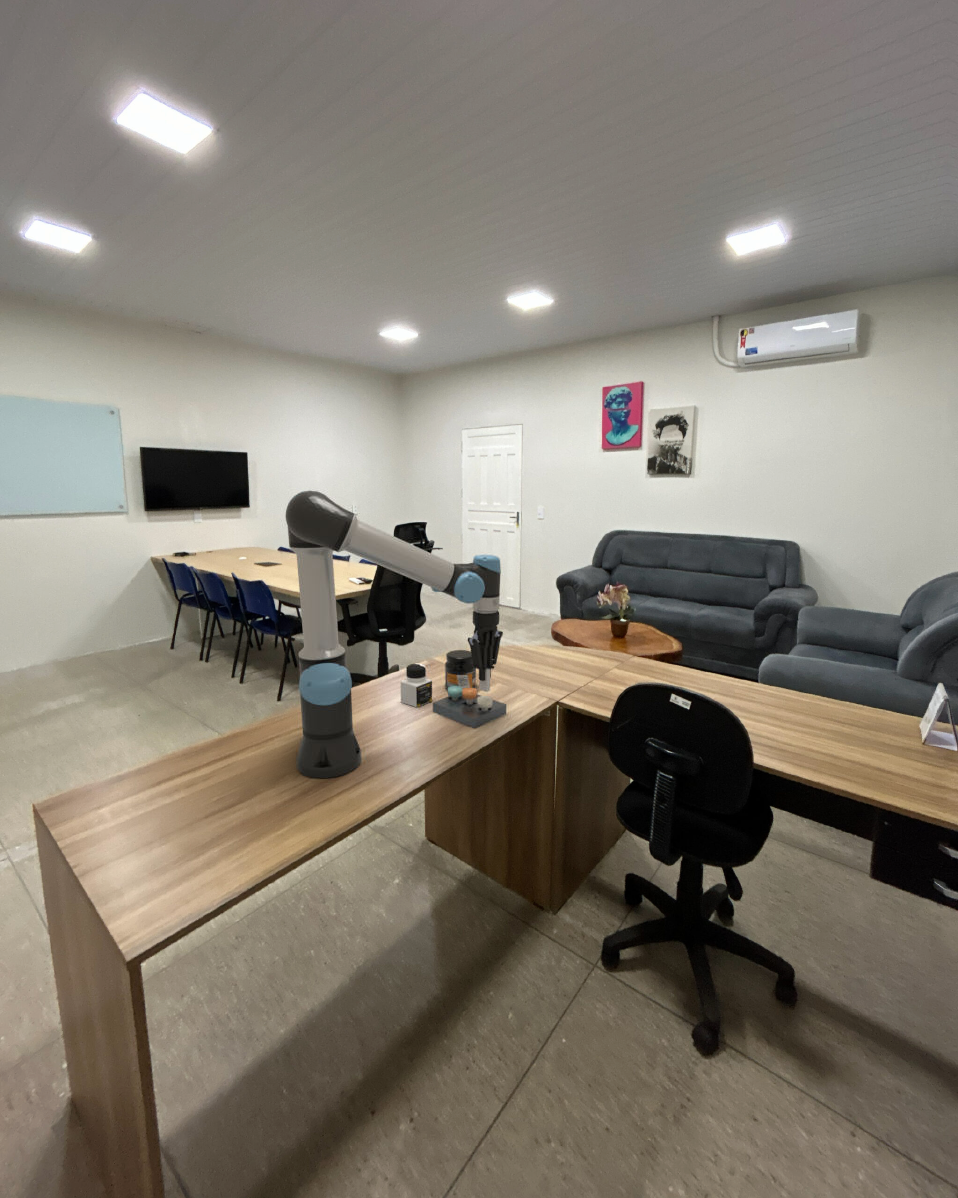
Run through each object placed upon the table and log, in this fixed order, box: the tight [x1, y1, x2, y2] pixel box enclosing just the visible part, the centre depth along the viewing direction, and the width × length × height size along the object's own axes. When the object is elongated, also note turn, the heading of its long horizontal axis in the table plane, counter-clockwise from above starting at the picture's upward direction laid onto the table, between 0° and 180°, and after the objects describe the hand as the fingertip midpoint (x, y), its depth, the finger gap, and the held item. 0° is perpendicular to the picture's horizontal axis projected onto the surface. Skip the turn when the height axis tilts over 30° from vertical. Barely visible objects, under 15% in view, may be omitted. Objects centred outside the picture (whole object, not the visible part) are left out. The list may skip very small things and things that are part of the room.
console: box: [432, 693, 507, 729], centre depth 160 cm, size 14×17×3 cm
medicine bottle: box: [400, 662, 433, 708], centre depth 167 cm, size 7×7×12 cm
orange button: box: [462, 687, 478, 706], centre depth 159 cm, size 4×4×5 cm
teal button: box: [447, 686, 462, 701], centre depth 163 cm, size 4×4×5 cm
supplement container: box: [444, 649, 477, 690], centre depth 179 cm, size 10×10×12 cm
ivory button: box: [477, 695, 493, 712], centre depth 155 cm, size 4×4×5 cm
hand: (484, 690), depth 154 cm, fingers closed
